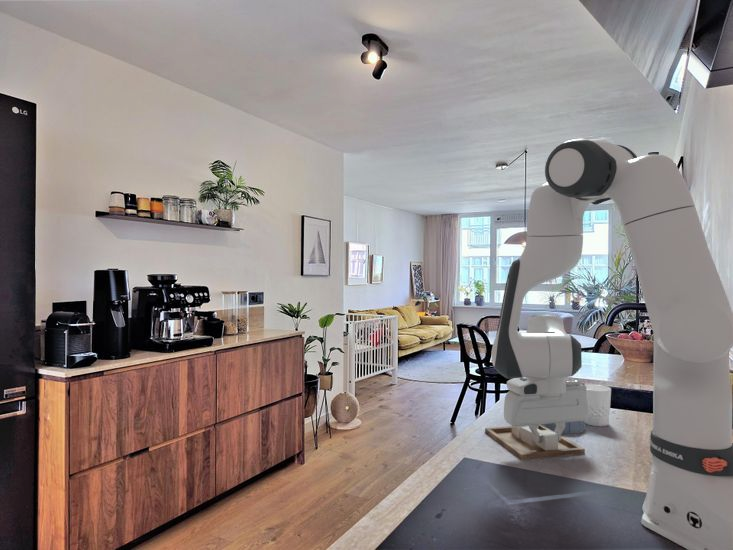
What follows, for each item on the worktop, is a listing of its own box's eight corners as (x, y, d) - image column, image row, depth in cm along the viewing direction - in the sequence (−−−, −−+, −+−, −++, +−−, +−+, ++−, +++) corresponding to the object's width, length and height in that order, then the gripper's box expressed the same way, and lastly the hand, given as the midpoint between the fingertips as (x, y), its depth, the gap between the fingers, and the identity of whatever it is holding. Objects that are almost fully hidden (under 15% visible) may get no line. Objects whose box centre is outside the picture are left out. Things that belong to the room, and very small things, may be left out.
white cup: (576, 417, 134) (576, 383, 134) (606, 419, 133) (606, 384, 133) (583, 426, 127) (583, 390, 127) (614, 428, 125) (614, 391, 125)
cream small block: (530, 437, 117) (530, 424, 117) (518, 438, 116) (518, 425, 116) (523, 432, 121) (523, 419, 121) (511, 432, 120) (511, 420, 120)
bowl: (593, 433, 121) (593, 419, 121) (555, 436, 119) (555, 422, 119) (566, 420, 132) (566, 407, 132) (532, 422, 130) (532, 410, 130)
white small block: (558, 449, 107) (558, 435, 107) (545, 450, 106) (545, 436, 106) (548, 443, 111) (548, 430, 111) (536, 444, 110) (536, 430, 110)
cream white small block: (542, 444, 112) (542, 430, 112) (531, 445, 111) (531, 432, 111) (531, 438, 116) (531, 425, 116) (521, 440, 115) (521, 427, 115)
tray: (584, 455, 106) (584, 449, 106) (521, 462, 103) (521, 454, 103) (540, 429, 124) (540, 423, 124) (485, 434, 121) (485, 428, 121)
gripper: (577, 377, 113) (578, 433, 113) (500, 382, 110) (501, 439, 110) (594, 383, 107) (595, 442, 107) (513, 388, 104) (514, 449, 104)
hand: (547, 441), depth 109 cm, fingers closed on white small block, 3 cm apart
